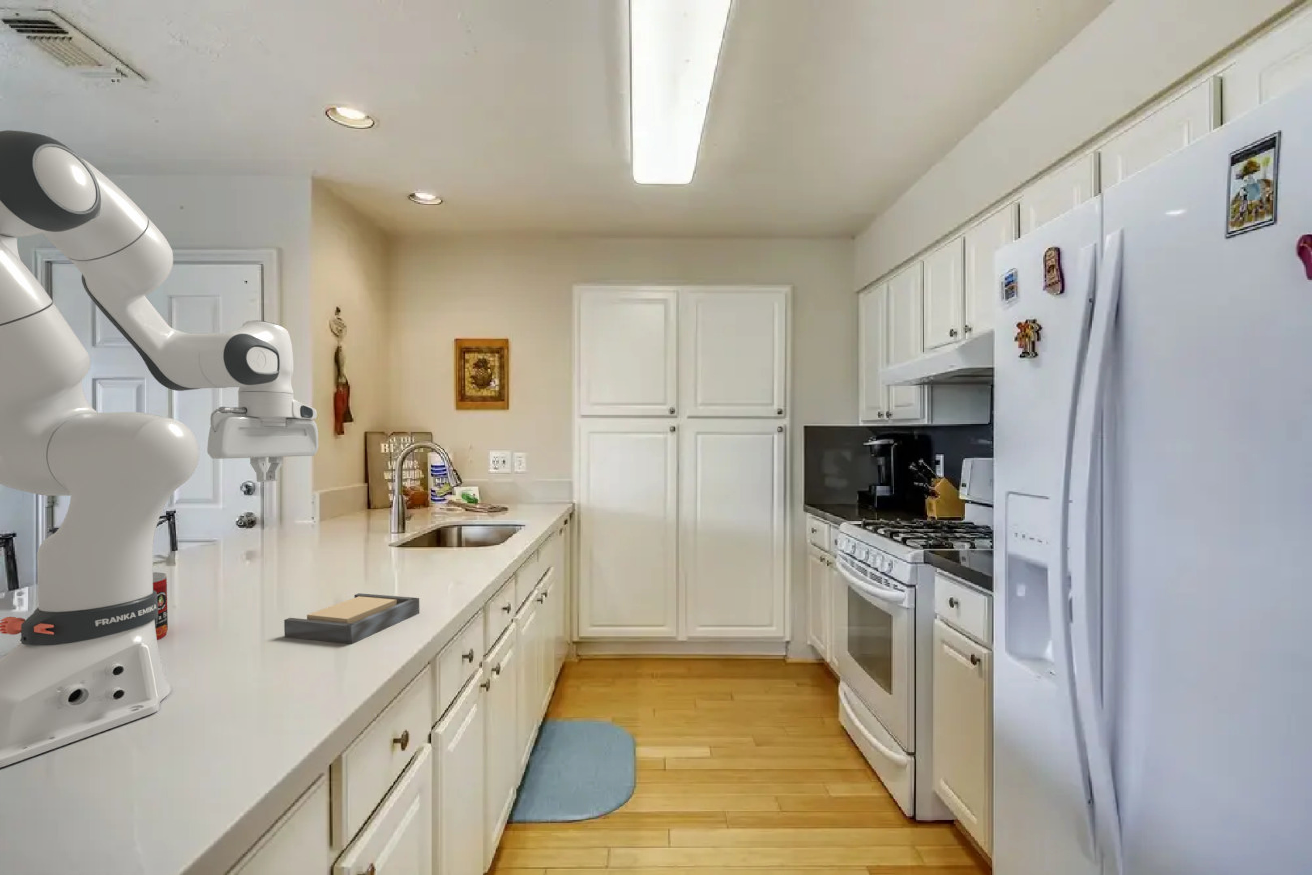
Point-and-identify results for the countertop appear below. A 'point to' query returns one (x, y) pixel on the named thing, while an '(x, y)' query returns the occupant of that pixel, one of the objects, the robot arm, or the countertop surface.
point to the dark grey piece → (353, 630)
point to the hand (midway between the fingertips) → (267, 481)
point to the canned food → (161, 603)
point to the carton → (352, 609)
